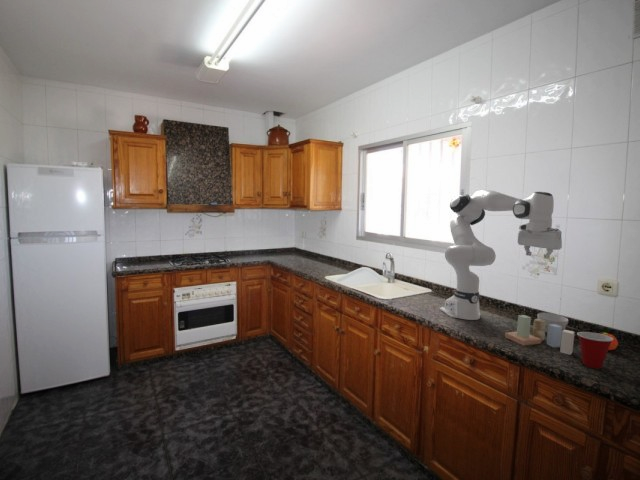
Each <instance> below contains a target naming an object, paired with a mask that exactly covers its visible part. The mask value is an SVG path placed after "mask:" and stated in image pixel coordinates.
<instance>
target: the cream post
mask: <svg viewBox="0 0 640 480" xmlns="http://www.w3.org/2000/svg"><path fill="white" fill-rule="evenodd" d="M574 342H575V331H573V330H569V329H568V330H567V329H566V328H565V329H564V330H563V331H562V334H561V344H560V347H559V348H560V350H559V353H561V354H565V355H567V356H568V355H569V356H571V355H572V353H573V349H574Z"/></svg>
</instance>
